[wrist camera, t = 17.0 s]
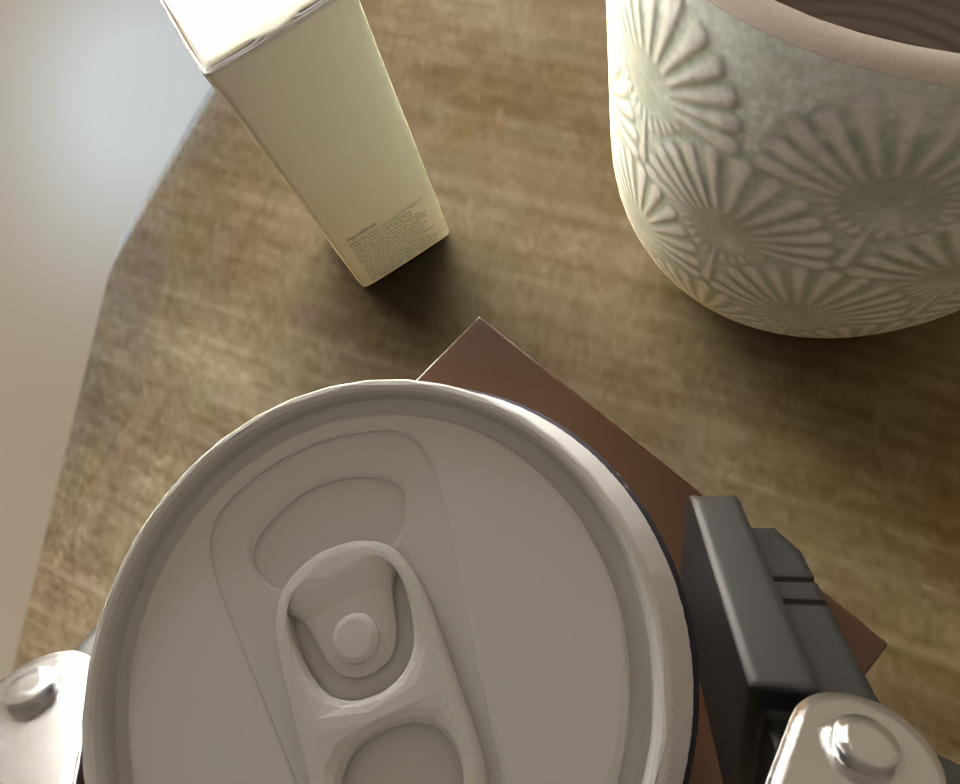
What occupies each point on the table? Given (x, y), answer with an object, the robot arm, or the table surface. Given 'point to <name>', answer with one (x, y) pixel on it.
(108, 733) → the beverage can
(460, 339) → the shelf
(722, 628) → the robot arm
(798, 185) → the planter
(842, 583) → the table surface
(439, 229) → the box
